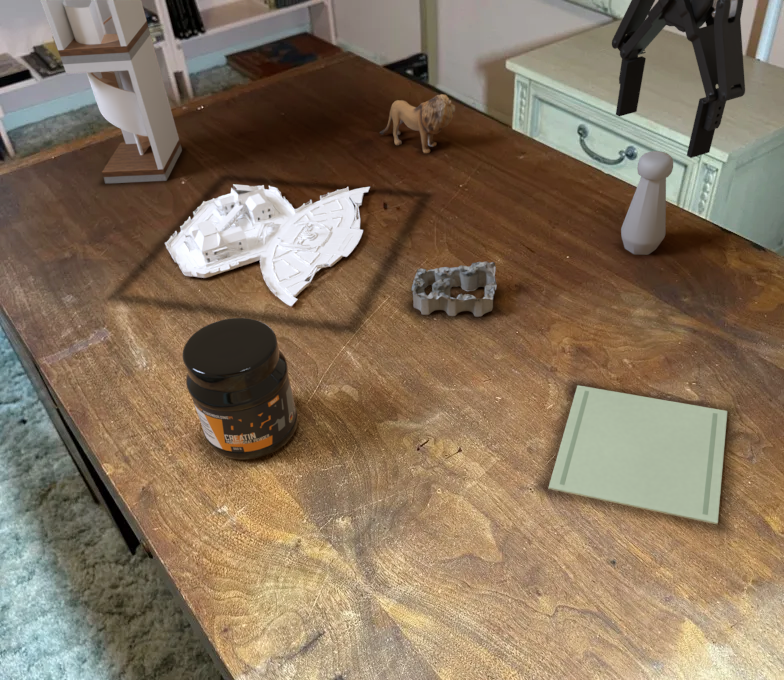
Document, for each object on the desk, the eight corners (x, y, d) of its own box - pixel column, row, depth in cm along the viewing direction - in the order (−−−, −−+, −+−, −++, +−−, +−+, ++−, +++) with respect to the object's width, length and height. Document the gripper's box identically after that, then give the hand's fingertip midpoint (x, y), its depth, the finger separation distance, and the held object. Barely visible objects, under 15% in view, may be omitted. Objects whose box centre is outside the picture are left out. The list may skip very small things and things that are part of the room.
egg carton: (498, 287, 101) (499, 260, 98) (491, 321, 96) (492, 294, 93) (419, 282, 103) (418, 255, 100) (408, 315, 98) (407, 288, 95)
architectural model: (130, 286, 106) (120, 259, 103) (231, 176, 127) (226, 151, 124) (316, 310, 99) (312, 282, 96) (391, 189, 120) (389, 163, 117)
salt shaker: (663, 259, 103) (683, 166, 94) (619, 258, 104) (634, 166, 94) (660, 236, 107) (678, 145, 97) (617, 235, 108) (632, 145, 98)
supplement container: (193, 461, 83) (161, 377, 74) (221, 396, 90) (195, 312, 81) (287, 467, 81) (266, 381, 72) (308, 400, 88) (291, 314, 80)
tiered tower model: (124, 153, 138) (48, -79, 112) (182, 150, 137) (118, -84, 112) (105, 183, 130) (19, -59, 105) (166, 180, 129) (94, -64, 104)
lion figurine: (460, 145, 131) (459, 91, 124) (444, 158, 128) (443, 103, 121) (387, 131, 137) (383, 78, 130) (371, 143, 134) (366, 89, 127)
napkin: (577, 387, 87) (577, 384, 86) (726, 412, 82) (727, 410, 82) (548, 489, 77) (548, 487, 76) (717, 525, 72) (717, 522, 72)
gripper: (598, -89, 86) (576, 104, 101) (761, -38, 70) (705, 181, 85) (652, -100, 88) (623, 91, 103) (823, -53, 72) (758, 165, 87)
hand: (660, 133), depth 94 cm, fingers open, 13 cm apart
